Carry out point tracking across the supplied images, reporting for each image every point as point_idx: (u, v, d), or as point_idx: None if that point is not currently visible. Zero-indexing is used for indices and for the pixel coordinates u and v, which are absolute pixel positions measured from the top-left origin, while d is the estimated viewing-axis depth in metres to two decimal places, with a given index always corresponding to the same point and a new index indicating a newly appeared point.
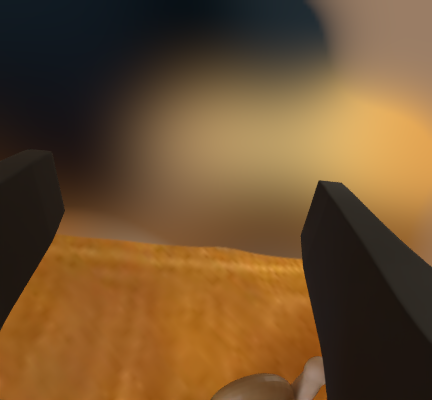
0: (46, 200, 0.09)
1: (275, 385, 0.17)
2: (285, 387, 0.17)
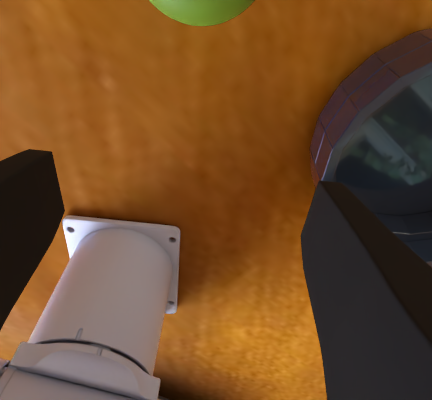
0: (46, 200, 0.09)
1: None
2: None
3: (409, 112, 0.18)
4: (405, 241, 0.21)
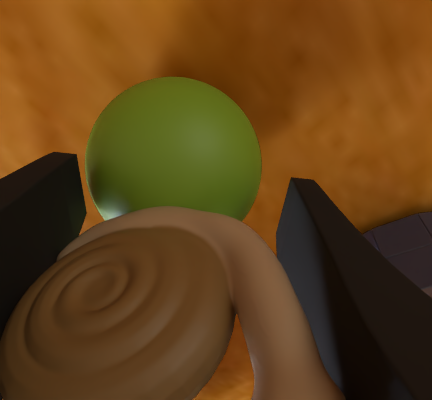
0: (71, 203, 0.09)
1: None
2: None
3: None
4: None
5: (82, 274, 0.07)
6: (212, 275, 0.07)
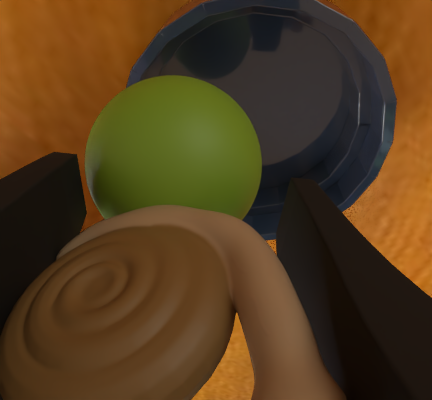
0: (71, 203, 0.09)
1: None
2: None
3: (229, 78, 0.18)
4: (248, 215, 0.21)
5: (81, 273, 0.07)
6: (212, 273, 0.07)
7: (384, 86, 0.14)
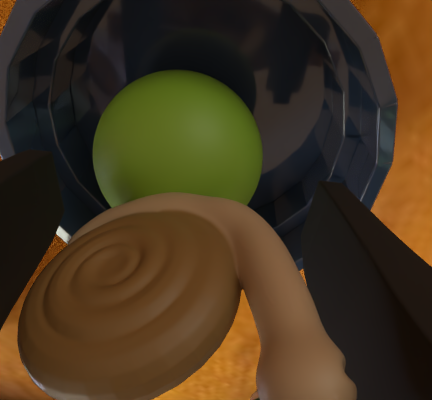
0: (46, 200, 0.09)
1: (153, 395, 0.06)
2: (191, 374, 0.06)
3: None
4: None
5: (95, 254, 0.07)
6: (219, 253, 0.07)
7: (379, 80, 0.09)
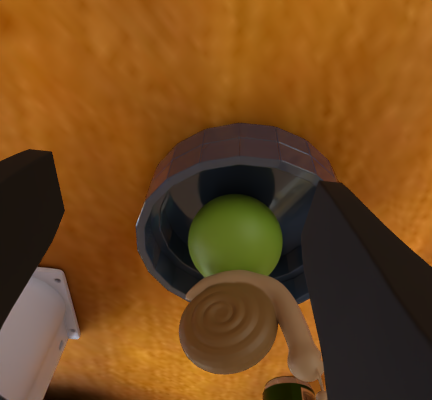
0: (46, 200, 0.09)
1: (246, 368, 0.15)
2: None
3: (223, 186, 0.22)
4: None
5: (211, 307, 0.16)
6: (268, 307, 0.16)
7: None
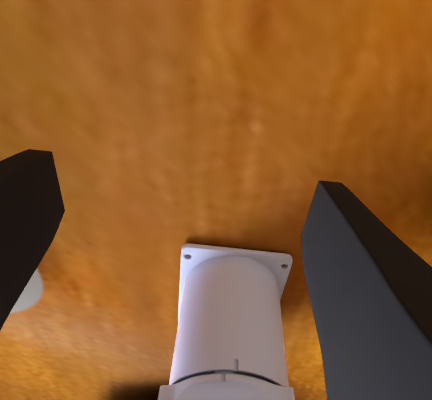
0: (46, 200, 0.09)
1: None
2: None
3: None
4: None
5: None
6: None
7: None
